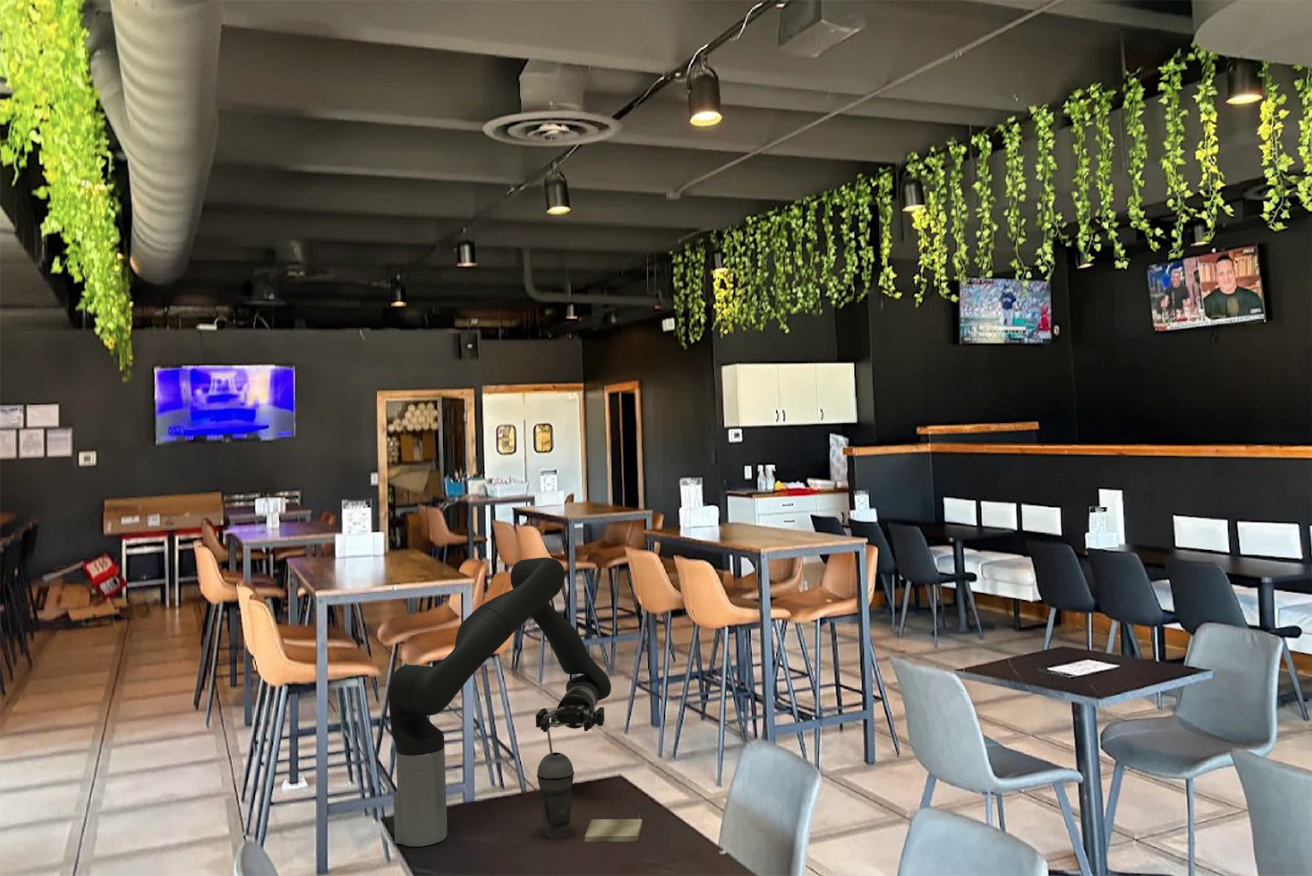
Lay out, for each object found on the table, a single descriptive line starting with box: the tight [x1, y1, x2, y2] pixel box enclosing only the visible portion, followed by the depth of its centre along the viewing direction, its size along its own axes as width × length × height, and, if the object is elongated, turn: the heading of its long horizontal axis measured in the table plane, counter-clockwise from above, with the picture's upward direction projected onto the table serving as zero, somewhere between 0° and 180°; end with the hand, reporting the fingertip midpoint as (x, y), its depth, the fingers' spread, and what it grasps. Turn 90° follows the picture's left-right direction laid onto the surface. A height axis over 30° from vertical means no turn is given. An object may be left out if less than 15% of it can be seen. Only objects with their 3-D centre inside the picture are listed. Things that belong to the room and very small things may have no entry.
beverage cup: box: [536, 729, 575, 839], centre depth 198 cm, size 7×7×20 cm
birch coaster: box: [584, 818, 643, 843], centre depth 197 cm, size 10×9×1 cm
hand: (565, 727), depth 209 cm, fingers open, 8 cm apart
